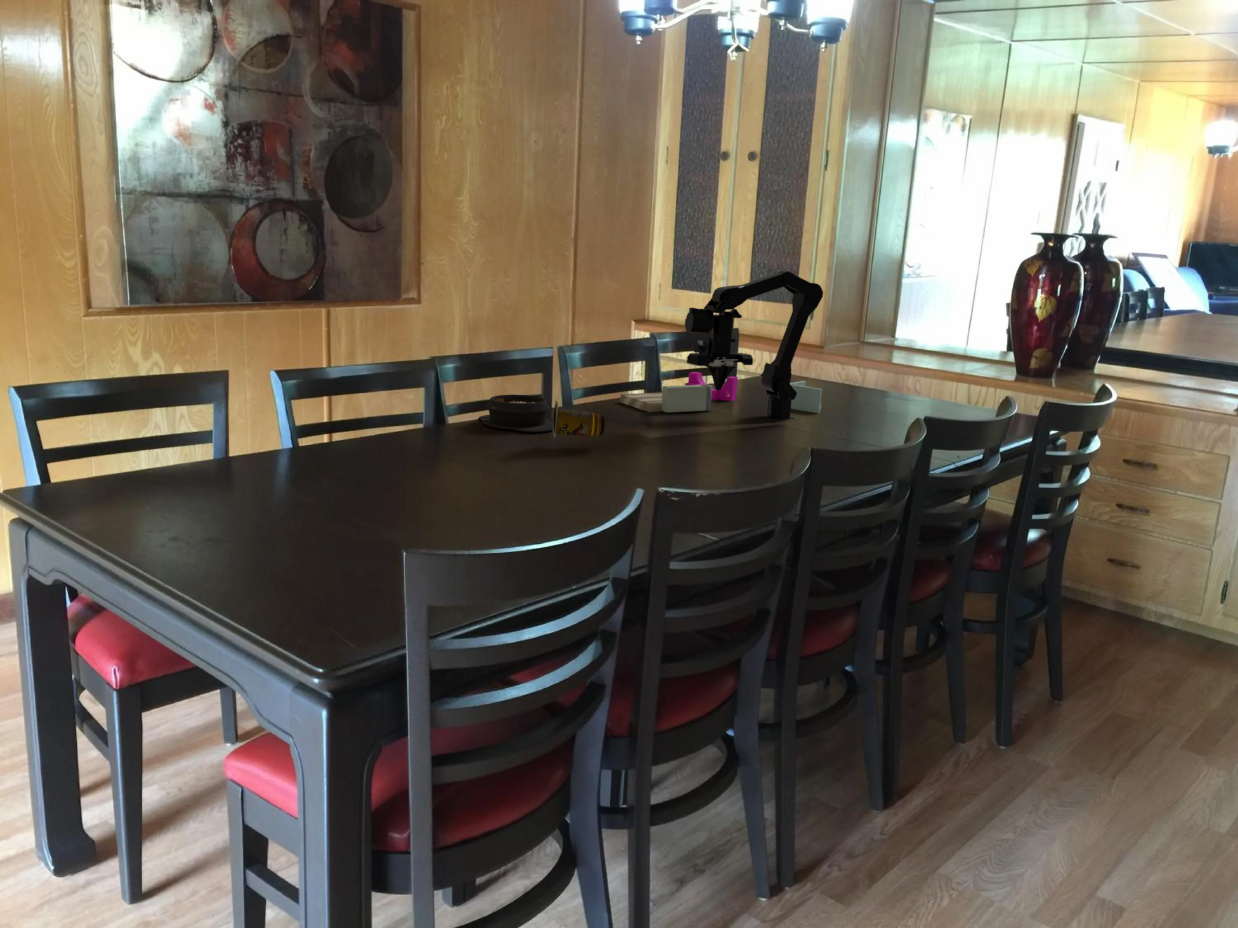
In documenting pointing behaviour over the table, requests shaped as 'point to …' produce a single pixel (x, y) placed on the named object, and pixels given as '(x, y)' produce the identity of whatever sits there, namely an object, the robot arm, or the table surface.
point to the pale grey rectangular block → (686, 398)
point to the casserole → (518, 413)
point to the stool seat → (643, 401)
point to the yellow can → (577, 423)
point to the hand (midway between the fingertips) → (717, 390)
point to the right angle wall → (806, 397)
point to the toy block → (722, 394)
